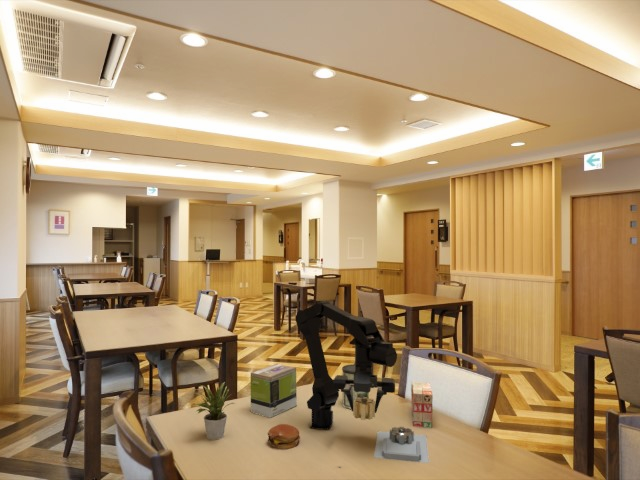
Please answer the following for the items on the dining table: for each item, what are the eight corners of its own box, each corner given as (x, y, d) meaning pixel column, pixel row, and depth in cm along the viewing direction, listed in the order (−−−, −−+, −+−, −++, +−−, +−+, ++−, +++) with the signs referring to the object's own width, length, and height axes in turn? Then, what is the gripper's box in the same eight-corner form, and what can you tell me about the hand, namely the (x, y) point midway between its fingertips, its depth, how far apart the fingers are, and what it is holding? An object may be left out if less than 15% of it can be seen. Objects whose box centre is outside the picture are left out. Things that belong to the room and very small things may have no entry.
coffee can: (367, 400, 171) (367, 364, 171) (370, 410, 161) (370, 371, 161) (341, 400, 171) (341, 363, 172) (342, 409, 161) (342, 371, 161)
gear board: (373, 461, 121) (374, 452, 122) (377, 434, 139) (377, 426, 139) (429, 467, 119) (429, 457, 119) (426, 439, 136) (426, 430, 136)
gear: (389, 443, 130) (389, 433, 131) (390, 433, 138) (390, 423, 138) (413, 445, 129) (413, 435, 129) (413, 435, 136) (413, 425, 136)
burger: (297, 435, 139) (297, 420, 139) (301, 448, 130) (301, 432, 130) (266, 437, 137) (266, 422, 137) (268, 451, 128) (268, 435, 128)
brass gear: (352, 418, 131) (352, 401, 131) (354, 410, 137) (354, 394, 138) (374, 420, 130) (374, 403, 130) (375, 412, 136) (375, 396, 136)
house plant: (199, 425, 146) (200, 375, 146) (240, 425, 145) (241, 376, 146) (185, 444, 132) (186, 389, 132) (230, 445, 131) (231, 390, 132)
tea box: (277, 400, 170) (277, 362, 170) (297, 406, 164) (297, 367, 164) (249, 412, 158) (249, 371, 158) (270, 418, 152) (270, 376, 152)
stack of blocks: (411, 407, 164) (411, 374, 165) (428, 408, 163) (428, 375, 164) (413, 430, 143) (413, 392, 144) (432, 431, 142) (432, 393, 142)
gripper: (330, 365, 128) (329, 419, 127) (394, 369, 124) (394, 424, 124) (335, 356, 139) (335, 406, 138) (395, 359, 135) (395, 410, 135)
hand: (364, 411), depth 134 cm, fingers closed on brass gear, 7 cm apart
